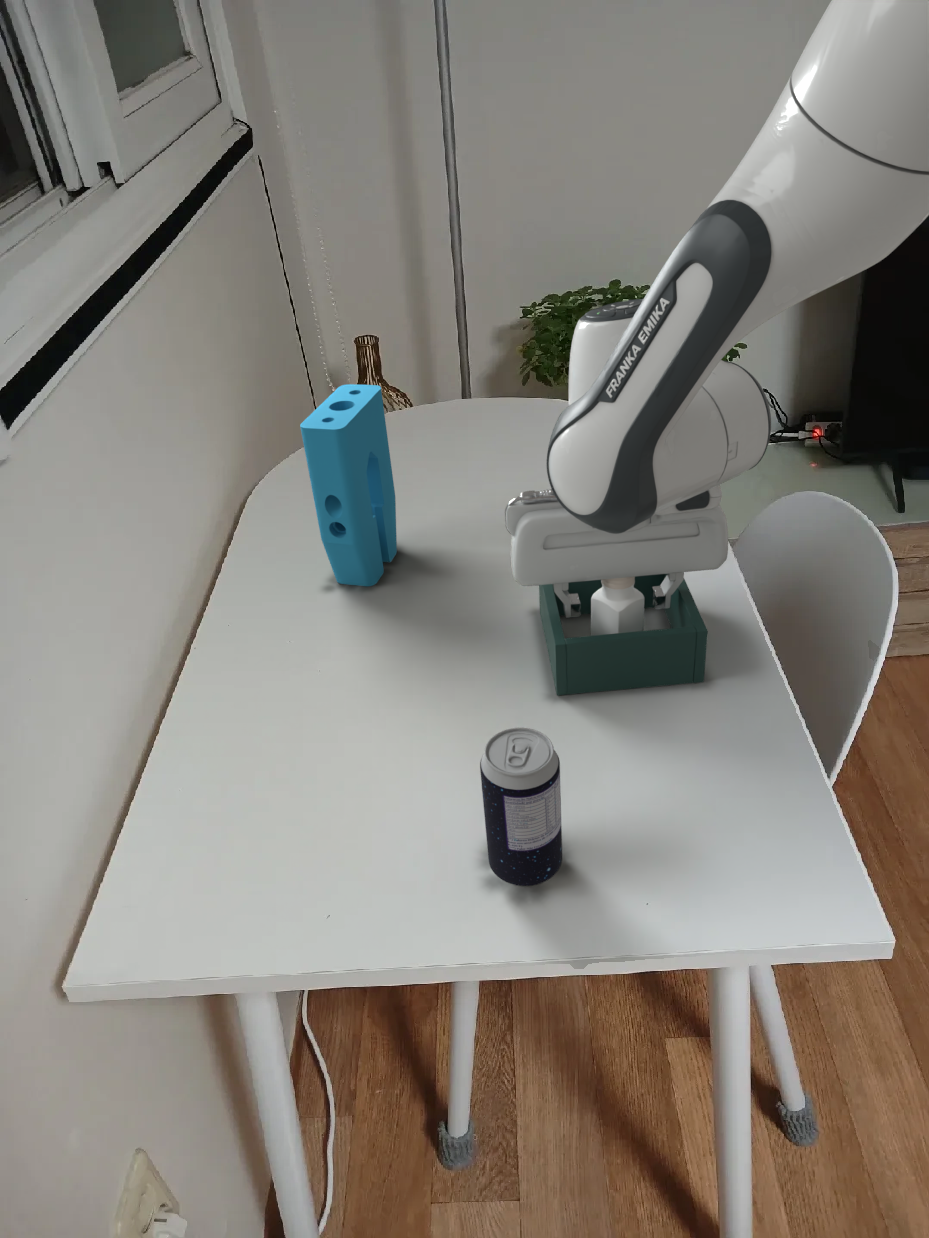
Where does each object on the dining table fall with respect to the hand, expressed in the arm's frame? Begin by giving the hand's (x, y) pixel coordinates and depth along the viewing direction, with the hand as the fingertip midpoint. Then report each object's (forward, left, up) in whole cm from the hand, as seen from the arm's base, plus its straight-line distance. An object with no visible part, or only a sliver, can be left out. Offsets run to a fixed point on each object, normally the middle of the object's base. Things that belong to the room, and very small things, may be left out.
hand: (616, 609), depth 94 cm
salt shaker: (0, 0, -5) cm, 5 cm away
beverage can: (+12, +27, -5) cm, 30 cm away
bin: (0, 0, -4) cm, 4 cm away
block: (+26, -20, -5) cm, 33 cm away
